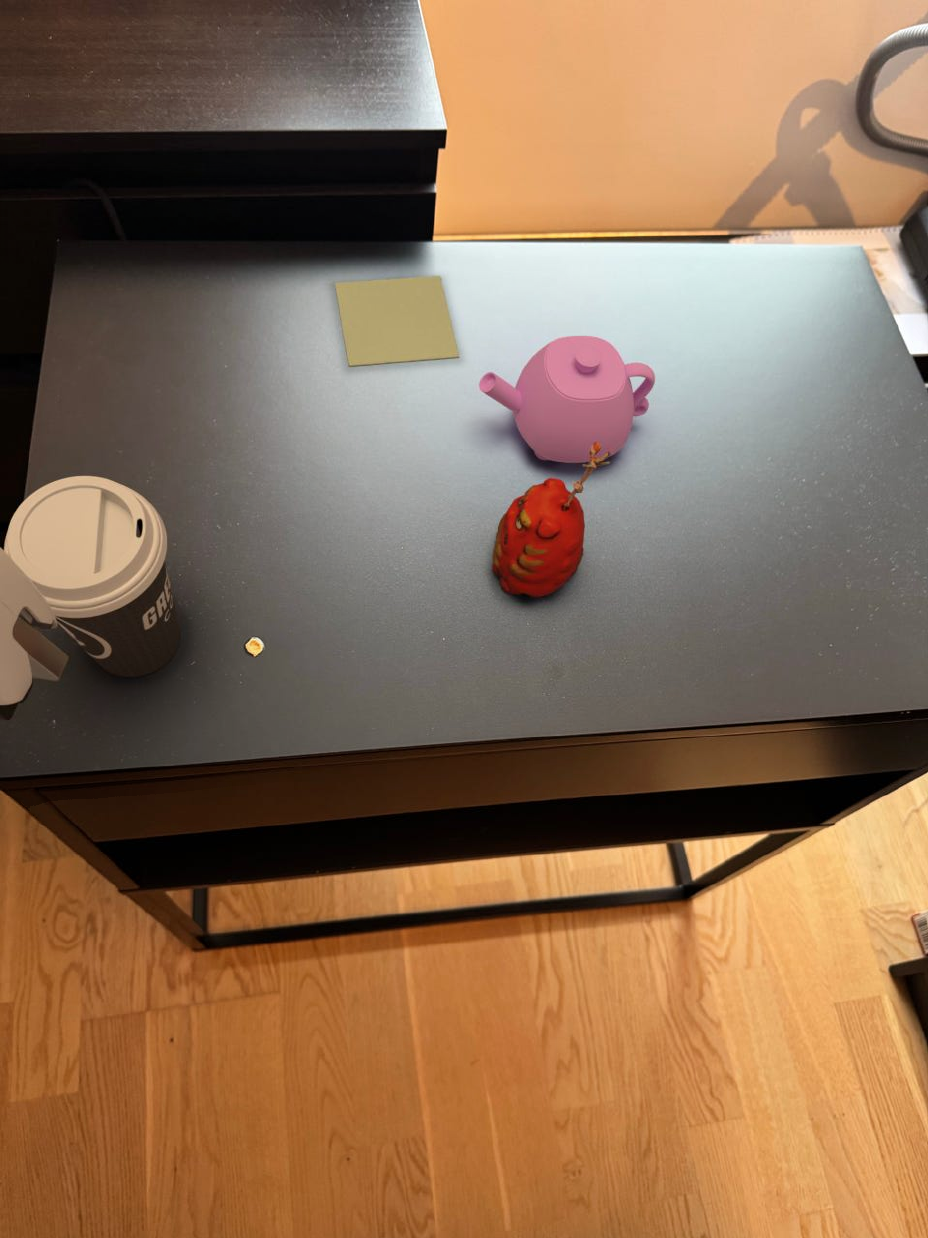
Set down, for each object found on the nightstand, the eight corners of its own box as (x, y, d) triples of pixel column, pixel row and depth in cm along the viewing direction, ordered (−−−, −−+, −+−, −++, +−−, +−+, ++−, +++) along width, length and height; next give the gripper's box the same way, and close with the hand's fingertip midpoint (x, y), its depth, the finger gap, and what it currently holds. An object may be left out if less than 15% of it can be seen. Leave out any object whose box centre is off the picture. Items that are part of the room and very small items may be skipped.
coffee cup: (169, 713, 65) (116, 621, 51) (44, 674, 65) (-41, 573, 52) (222, 601, 69) (186, 489, 56) (104, 565, 70) (41, 446, 56)
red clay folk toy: (492, 520, 75) (518, 401, 61) (576, 528, 75) (620, 412, 62) (487, 602, 71) (514, 495, 58) (576, 610, 72) (622, 506, 58)
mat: (348, 366, 80) (348, 365, 80) (334, 283, 85) (334, 282, 84) (459, 357, 82) (459, 356, 82) (440, 276, 86) (440, 275, 86)
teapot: (650, 475, 78) (683, 404, 70) (478, 482, 76) (492, 411, 68) (627, 380, 83) (656, 303, 74) (464, 385, 81) (475, 307, 72)
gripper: (-443, 547, 32) (-158, 724, 48) (-33, 644, 31) (113, 789, 48) (-314, 385, 35) (-89, 602, 51) (57, 470, 34) (165, 662, 51)
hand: (8, 692), depth 49 cm, fingers closed
